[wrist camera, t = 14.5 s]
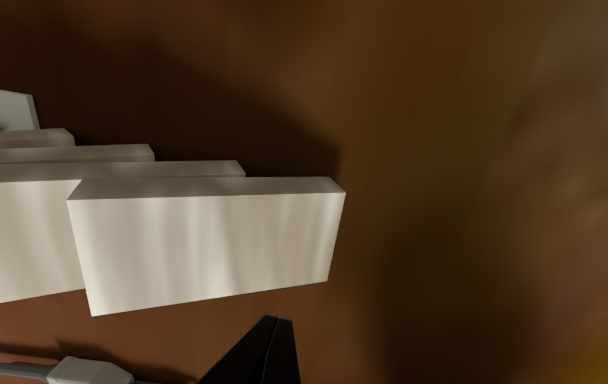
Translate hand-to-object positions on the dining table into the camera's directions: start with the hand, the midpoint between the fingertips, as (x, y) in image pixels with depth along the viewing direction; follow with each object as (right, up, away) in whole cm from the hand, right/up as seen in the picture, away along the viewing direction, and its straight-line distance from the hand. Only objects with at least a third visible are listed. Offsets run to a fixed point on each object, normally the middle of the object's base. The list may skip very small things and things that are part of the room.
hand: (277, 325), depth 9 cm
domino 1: (+2, +2, +6) cm, 6 cm away
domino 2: (-3, +3, +6) cm, 7 cm away
